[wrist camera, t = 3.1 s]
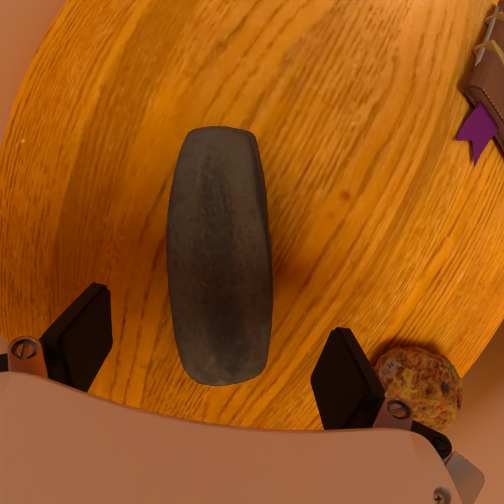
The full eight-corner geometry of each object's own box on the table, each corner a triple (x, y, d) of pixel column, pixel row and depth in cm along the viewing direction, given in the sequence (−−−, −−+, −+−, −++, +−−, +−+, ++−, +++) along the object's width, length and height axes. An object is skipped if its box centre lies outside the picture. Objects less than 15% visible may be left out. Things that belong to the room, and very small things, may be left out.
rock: (367, 381, 29) (335, 426, 21) (389, 318, 27) (365, 350, 19) (446, 407, 22) (439, 462, 14) (476, 344, 21) (487, 387, 13)
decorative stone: (264, 363, 21) (270, 400, 17) (185, 363, 21) (177, 400, 17) (272, 131, 16) (284, 123, 12) (166, 133, 15) (145, 127, 11)
